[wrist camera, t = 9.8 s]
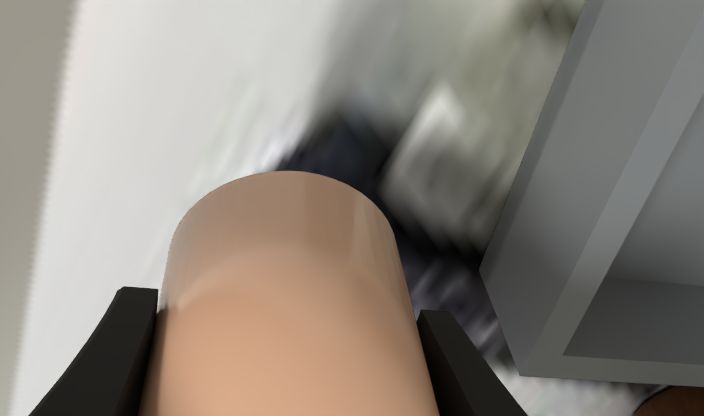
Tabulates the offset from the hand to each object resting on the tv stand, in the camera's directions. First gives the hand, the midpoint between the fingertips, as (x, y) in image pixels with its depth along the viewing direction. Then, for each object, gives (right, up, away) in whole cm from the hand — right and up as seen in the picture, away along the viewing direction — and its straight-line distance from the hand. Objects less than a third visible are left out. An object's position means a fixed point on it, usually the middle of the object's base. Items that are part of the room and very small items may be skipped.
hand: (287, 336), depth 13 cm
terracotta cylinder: (0, +1, +2) cm, 2 cm away
